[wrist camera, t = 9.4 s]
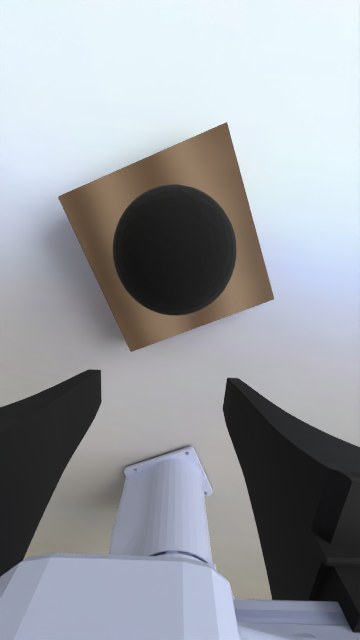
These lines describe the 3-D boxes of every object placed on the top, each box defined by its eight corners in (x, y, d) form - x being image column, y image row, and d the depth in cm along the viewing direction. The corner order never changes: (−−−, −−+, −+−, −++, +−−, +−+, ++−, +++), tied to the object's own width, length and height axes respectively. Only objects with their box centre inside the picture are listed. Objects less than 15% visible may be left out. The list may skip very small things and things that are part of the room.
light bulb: (152, 305, 17) (119, 344, 7) (133, 237, 16) (63, 177, 6) (216, 289, 17) (268, 309, 7) (202, 219, 16) (243, 127, 6)
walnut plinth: (137, 341, 21) (130, 351, 18) (77, 209, 18) (57, 196, 15) (260, 295, 20) (274, 299, 17) (218, 148, 17) (226, 122, 14)
